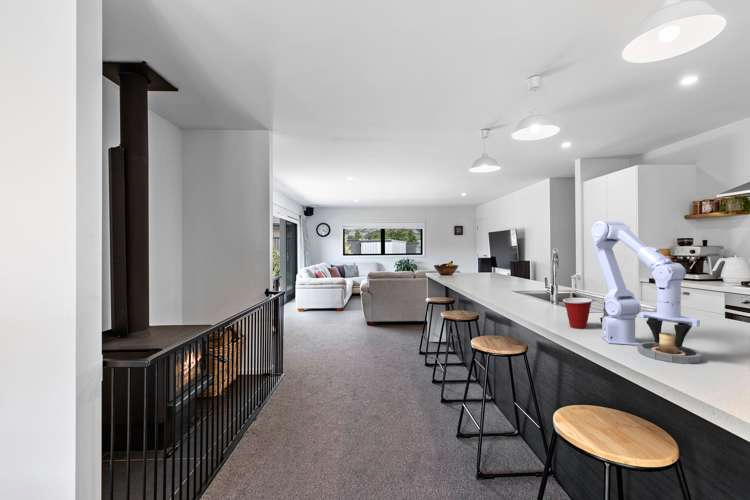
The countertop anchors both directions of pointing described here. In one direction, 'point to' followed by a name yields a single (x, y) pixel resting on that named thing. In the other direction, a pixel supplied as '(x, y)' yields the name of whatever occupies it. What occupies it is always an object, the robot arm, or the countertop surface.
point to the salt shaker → (604, 314)
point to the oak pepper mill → (667, 343)
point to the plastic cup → (578, 311)
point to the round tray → (683, 355)
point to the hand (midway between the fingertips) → (668, 344)
